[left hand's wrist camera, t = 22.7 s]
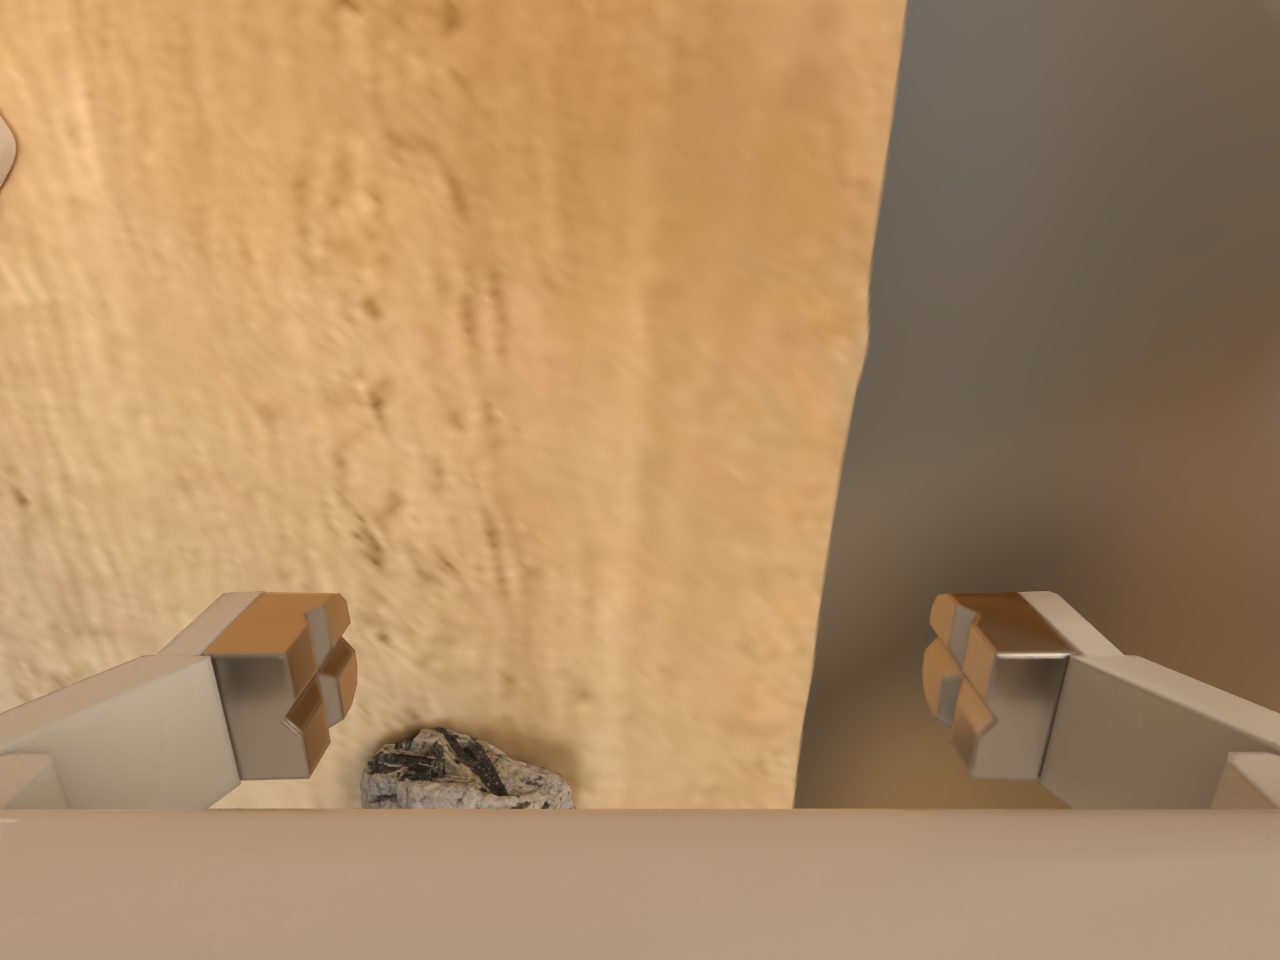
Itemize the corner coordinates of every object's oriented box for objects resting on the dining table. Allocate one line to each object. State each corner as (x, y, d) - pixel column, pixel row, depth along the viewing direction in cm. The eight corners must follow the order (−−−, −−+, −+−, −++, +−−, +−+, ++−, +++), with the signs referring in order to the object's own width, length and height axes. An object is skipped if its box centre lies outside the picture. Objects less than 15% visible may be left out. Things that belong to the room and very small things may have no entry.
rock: (369, 829, 54) (335, 917, 47) (368, 716, 50) (331, 795, 43) (571, 843, 55) (564, 932, 48) (584, 733, 51) (579, 813, 44)
